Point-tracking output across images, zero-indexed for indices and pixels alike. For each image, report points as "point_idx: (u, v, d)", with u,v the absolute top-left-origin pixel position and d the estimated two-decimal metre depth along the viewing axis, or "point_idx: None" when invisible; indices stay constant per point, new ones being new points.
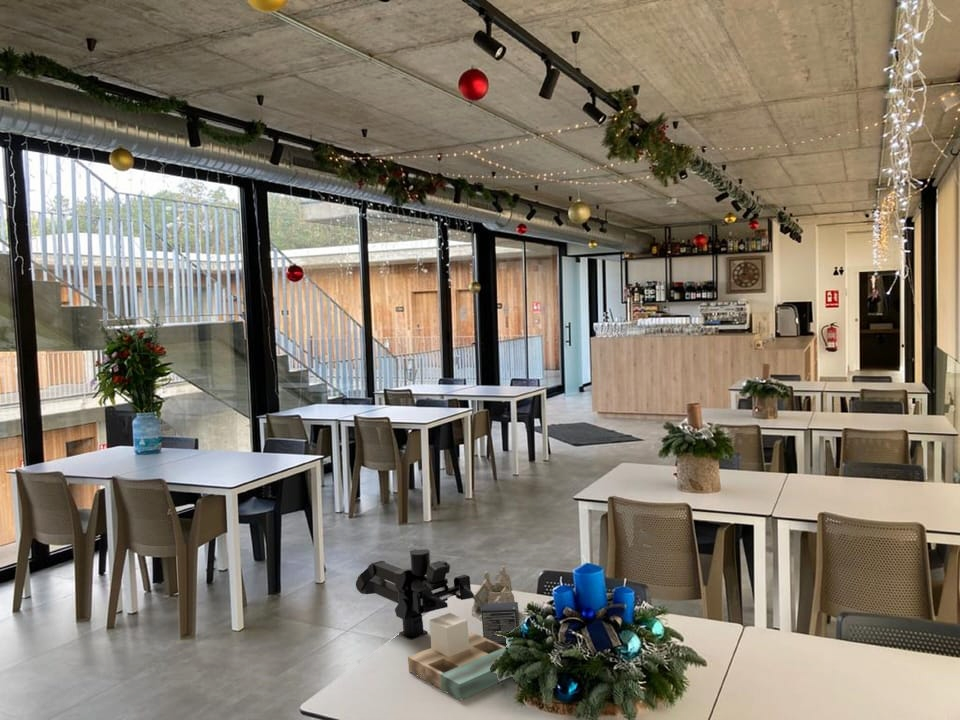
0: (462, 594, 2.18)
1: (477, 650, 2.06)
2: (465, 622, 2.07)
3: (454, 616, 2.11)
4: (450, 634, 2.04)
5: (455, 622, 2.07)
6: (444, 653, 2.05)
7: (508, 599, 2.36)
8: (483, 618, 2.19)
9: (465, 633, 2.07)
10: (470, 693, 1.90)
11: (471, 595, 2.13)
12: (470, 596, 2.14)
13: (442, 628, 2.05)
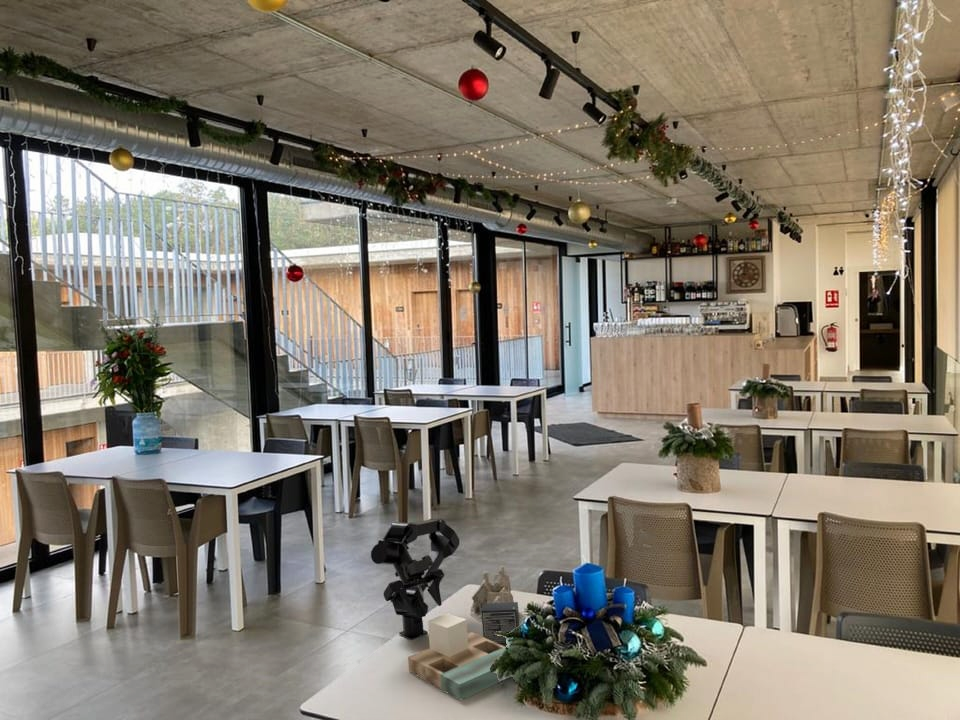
0: (431, 590, 2.23)
1: (477, 650, 2.06)
2: (464, 622, 2.08)
3: (452, 616, 2.11)
4: (450, 634, 2.04)
5: (454, 622, 2.07)
6: (444, 653, 2.05)
7: (507, 599, 2.36)
8: (483, 618, 2.19)
9: (464, 633, 2.08)
10: (470, 693, 1.90)
11: (439, 603, 2.19)
12: (437, 602, 2.20)
13: (442, 628, 2.05)
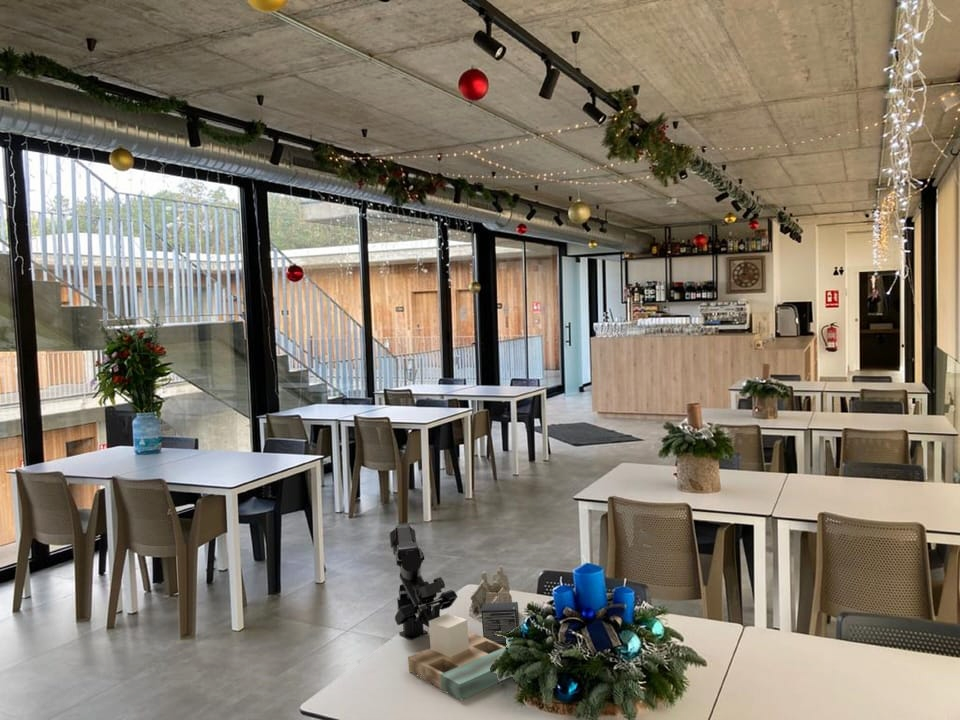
0: None
1: (477, 650, 2.06)
2: (465, 622, 2.07)
3: (453, 616, 2.11)
4: (451, 635, 2.04)
5: (455, 622, 2.06)
6: (445, 654, 2.05)
7: (506, 599, 2.36)
8: (483, 618, 2.19)
9: (465, 633, 2.07)
10: (470, 693, 1.90)
11: None
12: None
13: (442, 629, 2.05)
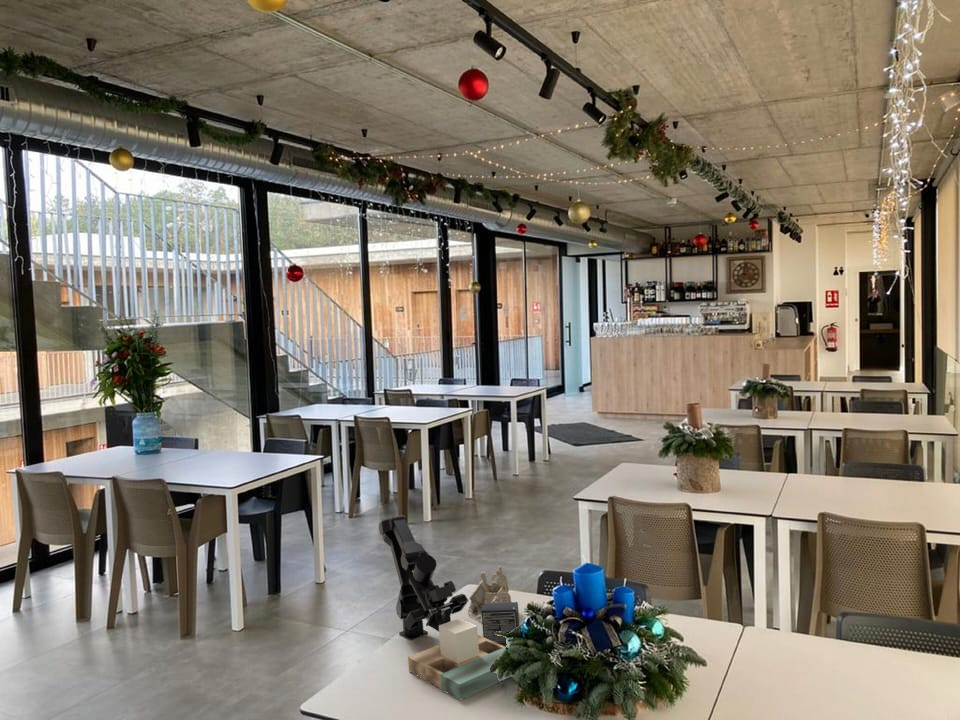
0: None
1: None
2: (475, 628, 2.03)
3: (464, 622, 2.06)
4: (459, 640, 1.99)
5: (464, 628, 2.02)
6: (453, 659, 2.01)
7: (505, 599, 2.36)
8: (483, 618, 2.19)
9: (475, 639, 2.02)
10: (470, 693, 1.90)
11: None
12: None
13: (451, 634, 2.00)
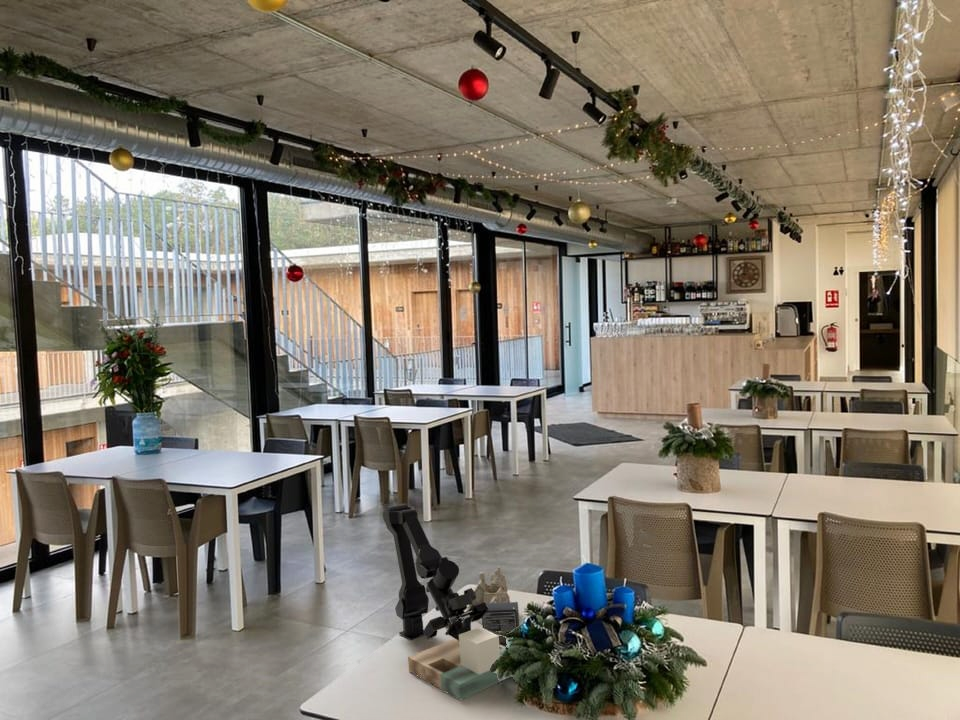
0: None
1: None
2: (496, 638, 1.95)
3: (485, 631, 1.99)
4: (480, 651, 1.92)
5: (486, 637, 1.95)
6: (474, 670, 1.94)
7: (504, 599, 2.36)
8: (483, 618, 2.19)
9: (496, 649, 1.95)
10: (470, 693, 1.90)
11: None
12: None
13: (471, 644, 1.93)
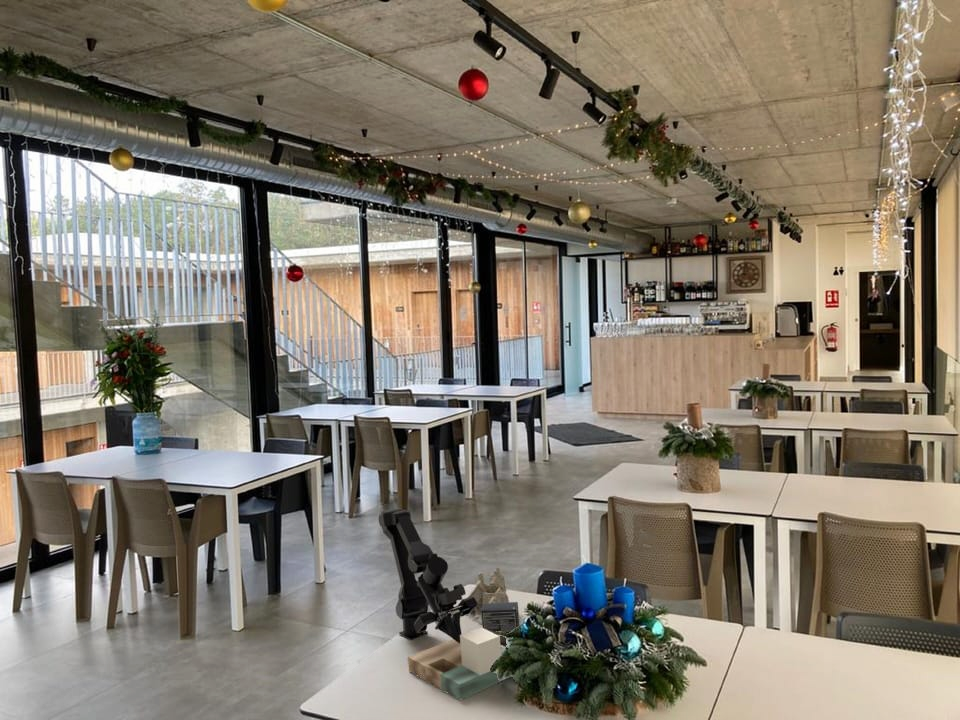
0: None
1: None
2: (497, 638, 1.95)
3: (486, 631, 1.99)
4: (481, 651, 1.92)
5: (487, 638, 1.95)
6: (475, 671, 1.93)
7: (503, 600, 2.36)
8: (483, 618, 2.19)
9: (497, 650, 1.95)
10: (470, 693, 1.90)
11: (459, 639, 2.05)
12: None
13: (472, 644, 1.93)
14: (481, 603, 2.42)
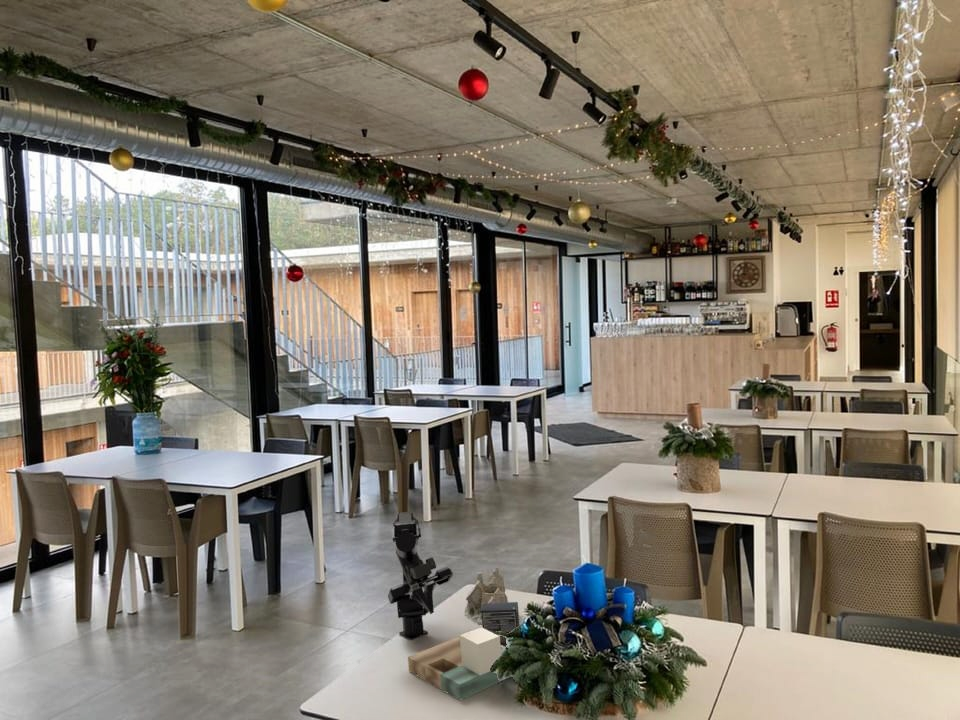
0: (425, 595, 2.16)
1: None
2: (497, 638, 1.95)
3: (486, 631, 1.99)
4: (481, 651, 1.92)
5: (487, 638, 1.95)
6: (475, 671, 1.93)
7: (502, 600, 2.36)
8: (483, 618, 2.19)
9: (497, 650, 1.95)
10: (470, 693, 1.90)
11: None
12: None
13: (472, 644, 1.93)
14: (480, 603, 2.41)
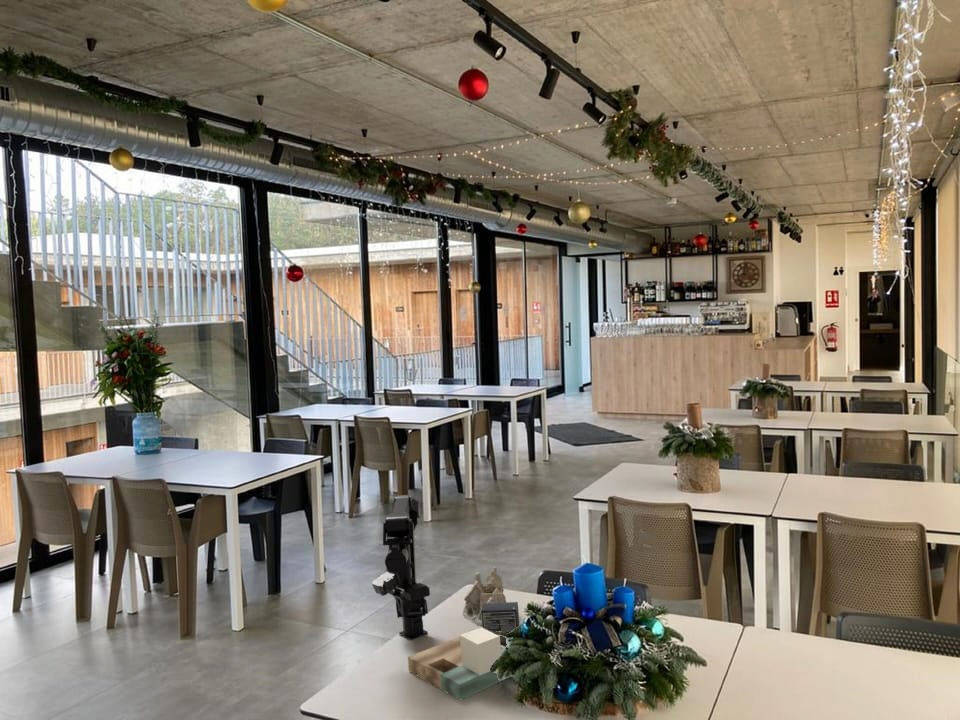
0: None
1: None
2: (497, 638, 1.95)
3: (486, 631, 1.99)
4: (481, 651, 1.92)
5: (487, 638, 1.95)
6: (475, 671, 1.93)
7: (500, 600, 2.36)
8: (483, 618, 2.19)
9: (497, 650, 1.95)
10: (470, 693, 1.90)
11: None
12: None
13: (472, 644, 1.93)
14: (478, 603, 2.41)
